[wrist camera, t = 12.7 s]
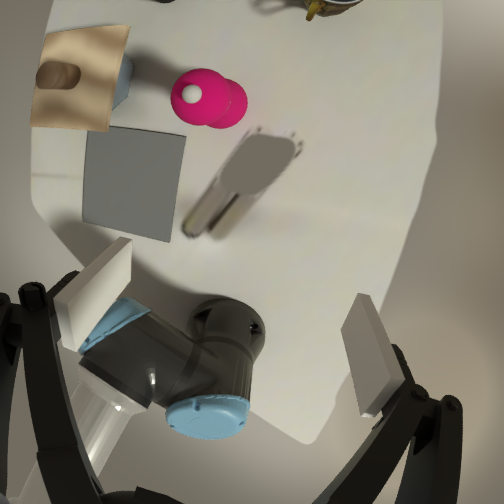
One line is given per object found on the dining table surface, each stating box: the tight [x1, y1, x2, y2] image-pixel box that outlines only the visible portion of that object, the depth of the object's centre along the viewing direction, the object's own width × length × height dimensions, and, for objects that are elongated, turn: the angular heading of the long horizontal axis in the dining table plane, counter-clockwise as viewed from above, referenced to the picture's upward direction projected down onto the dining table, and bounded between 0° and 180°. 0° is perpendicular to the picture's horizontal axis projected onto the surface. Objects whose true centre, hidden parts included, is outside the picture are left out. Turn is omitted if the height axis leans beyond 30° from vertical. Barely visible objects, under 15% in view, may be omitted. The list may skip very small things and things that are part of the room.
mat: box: [83, 126, 186, 243], centre depth 47 cm, size 18×18×1 cm
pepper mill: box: [171, 69, 248, 129], centre depth 32 cm, size 7×7×20 cm
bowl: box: [112, 53, 134, 110], centre depth 36 cm, size 13×13×7 cm
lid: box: [30, 25, 130, 132], centre depth 30 cm, size 16×16×7 cm
